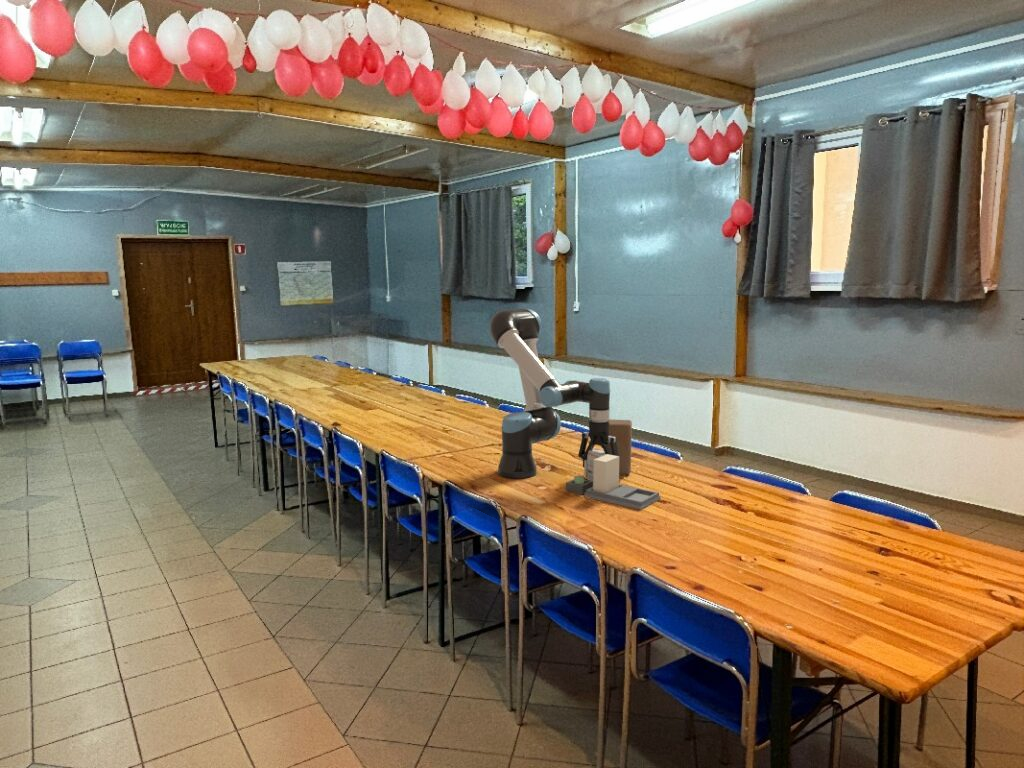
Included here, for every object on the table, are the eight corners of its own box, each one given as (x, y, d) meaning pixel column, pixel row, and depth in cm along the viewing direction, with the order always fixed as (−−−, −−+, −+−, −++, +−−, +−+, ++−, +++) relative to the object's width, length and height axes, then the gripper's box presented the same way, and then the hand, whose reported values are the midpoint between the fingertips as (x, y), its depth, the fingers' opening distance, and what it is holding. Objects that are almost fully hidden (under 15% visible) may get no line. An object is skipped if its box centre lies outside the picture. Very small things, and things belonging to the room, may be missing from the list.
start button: (572, 488, 243) (572, 477, 242) (577, 485, 246) (577, 475, 245) (580, 490, 241) (580, 479, 240) (586, 487, 243) (586, 477, 243)
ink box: (610, 483, 251) (611, 452, 249) (600, 485, 248) (600, 454, 246) (596, 477, 258) (597, 447, 256) (586, 479, 256) (586, 449, 254)
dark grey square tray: (565, 490, 243) (565, 482, 242) (576, 485, 248) (576, 478, 248) (582, 494, 238) (582, 486, 238) (592, 489, 244) (592, 481, 243)
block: (630, 475, 260) (631, 425, 257) (604, 474, 262) (604, 424, 259) (630, 468, 270) (631, 419, 267) (605, 467, 272) (606, 418, 269)
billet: (593, 492, 236) (593, 459, 234) (606, 486, 243) (607, 454, 241) (605, 495, 233) (606, 462, 231) (618, 489, 240) (619, 456, 238)
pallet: (584, 496, 236) (584, 490, 236) (605, 486, 247) (605, 480, 246) (640, 509, 222) (641, 502, 222) (660, 498, 233) (660, 492, 233)
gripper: (568, 418, 253) (568, 475, 257) (620, 426, 240) (619, 486, 243) (579, 414, 259) (579, 471, 263) (630, 422, 245) (629, 481, 249)
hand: (598, 478), depth 253 cm, fingers closed on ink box, 9 cm apart
